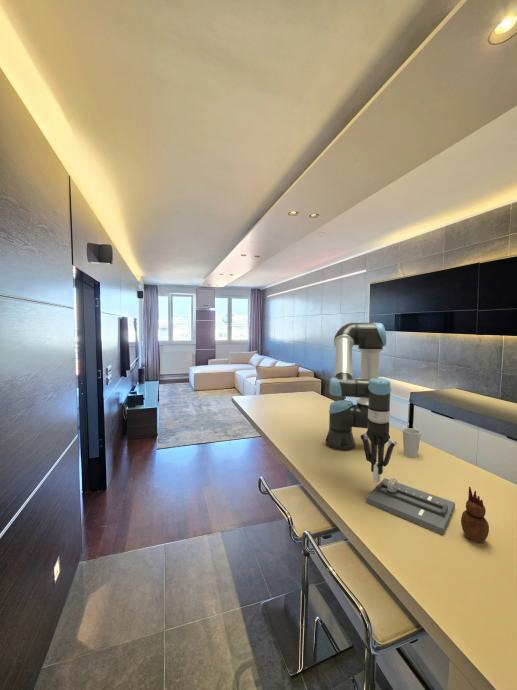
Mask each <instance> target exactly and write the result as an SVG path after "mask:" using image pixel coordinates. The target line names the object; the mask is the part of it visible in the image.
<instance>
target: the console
mask: <svg viewBox="0 0 517 690" xmlns="http://www.w3.org/2000/svg"><path fill="white" fill-rule="evenodd" d="M389 480H390V479H389V478H383V479H382V480H380V481H379V482H378V483H377V485H376V486H375V487H374V489H372V491H370V493H369V494H368V495H367V496H365V503H367V504H369V505H371V506H373V507H375V508H378V509H381V510H383V511H384V512H387V513H390V514H392V515H395V516H397V517H398V518H401V519H403V520H407V521H408V522H411V523H413V524H416V525H418V526H420V527H423V528H426V529H428V530H430V531H432V532H435V533H437V534H439V535H442V536H444V534H445V533H446V529H447V527H448V524H449V523H450V521H451V517H452V515H453V513H454V511H455V508H456V502H454V501H452V500H448V499H445V498H443V497H440V496H437V495H434V494H431V493H428V492H426V491H422V490H420V489H417V488H414V487H411V486H408V485H406V484H403V483H400V482H397V489H398V493H397V495H395V494H393V493H390V492H387V486H388V482H389Z"/></svg>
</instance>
